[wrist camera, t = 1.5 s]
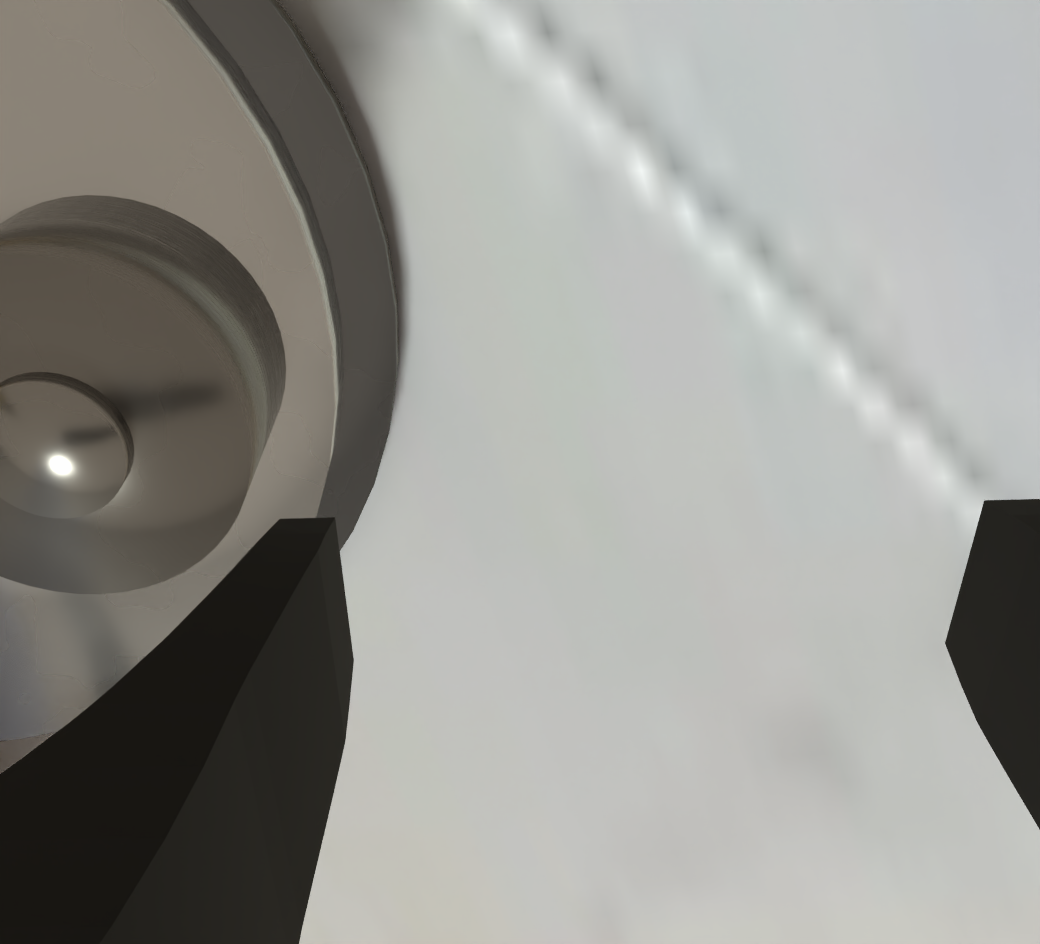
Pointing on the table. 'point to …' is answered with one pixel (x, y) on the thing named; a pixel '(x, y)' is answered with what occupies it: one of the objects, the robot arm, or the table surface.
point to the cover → (126, 393)
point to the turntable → (213, 208)
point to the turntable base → (328, 233)
